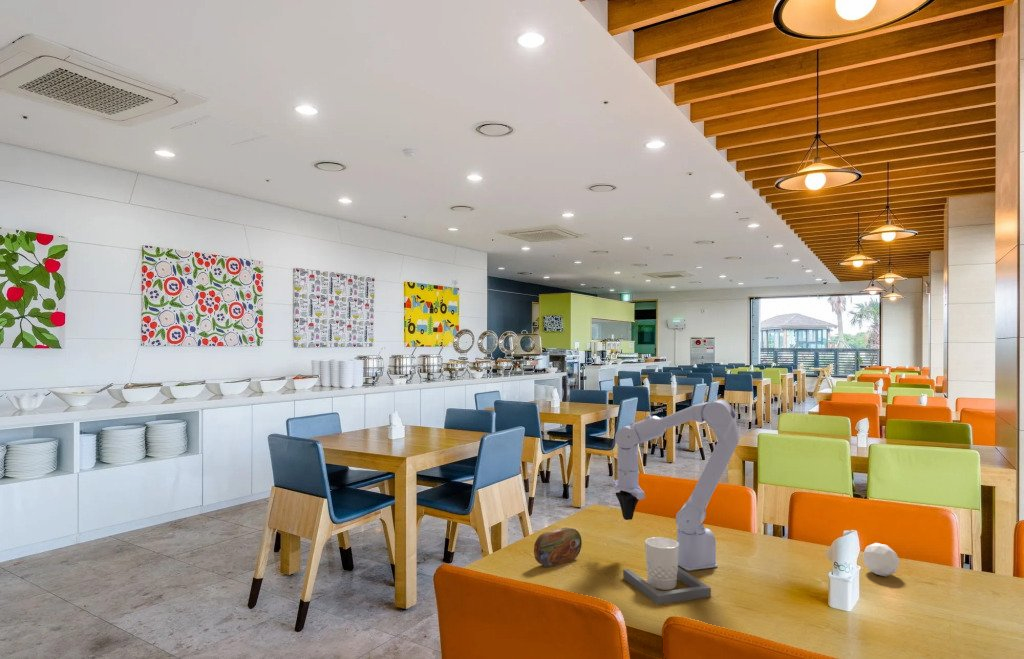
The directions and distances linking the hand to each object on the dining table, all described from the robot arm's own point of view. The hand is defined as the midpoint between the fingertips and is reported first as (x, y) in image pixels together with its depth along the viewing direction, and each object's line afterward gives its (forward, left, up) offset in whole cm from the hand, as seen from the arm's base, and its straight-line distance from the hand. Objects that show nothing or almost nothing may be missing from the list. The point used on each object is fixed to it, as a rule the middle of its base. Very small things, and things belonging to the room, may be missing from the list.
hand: (627, 519), depth 159 cm
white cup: (+2, +21, -10) cm, 23 cm away
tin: (+21, 0, -10) cm, 23 cm away
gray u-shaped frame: (+3, +22, -9) cm, 24 cm away
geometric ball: (-54, +32, -10) cm, 63 cm away
